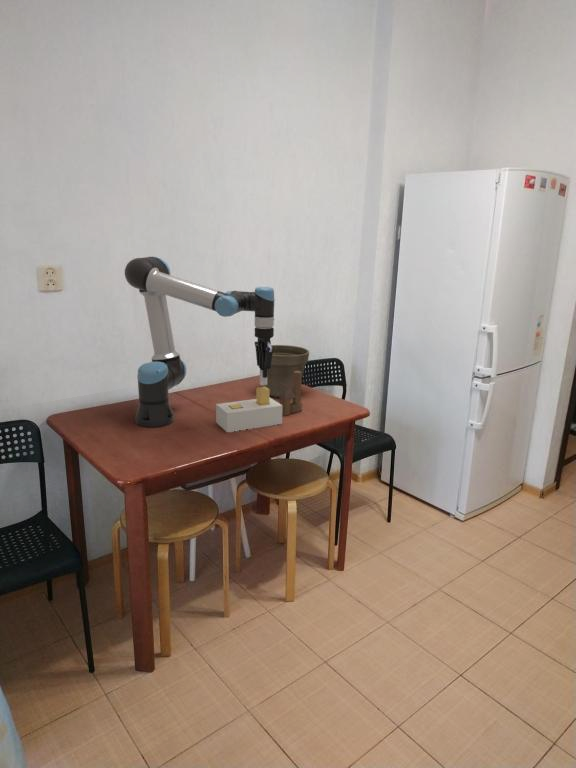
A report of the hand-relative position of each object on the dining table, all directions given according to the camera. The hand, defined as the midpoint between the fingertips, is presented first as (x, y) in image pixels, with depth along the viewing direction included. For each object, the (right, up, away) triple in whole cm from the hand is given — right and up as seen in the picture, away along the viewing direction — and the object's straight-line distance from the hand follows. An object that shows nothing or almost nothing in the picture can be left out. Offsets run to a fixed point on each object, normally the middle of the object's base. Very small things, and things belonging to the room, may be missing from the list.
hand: (263, 384), depth 217 cm
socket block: (-6, -16, +2) cm, 17 cm away
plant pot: (+7, -4, +43) cm, 44 cm away
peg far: (0, -10, +3) cm, 10 cm away
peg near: (-11, -16, -1) cm, 20 cm away
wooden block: (+11, -12, +16) cm, 23 cm away
